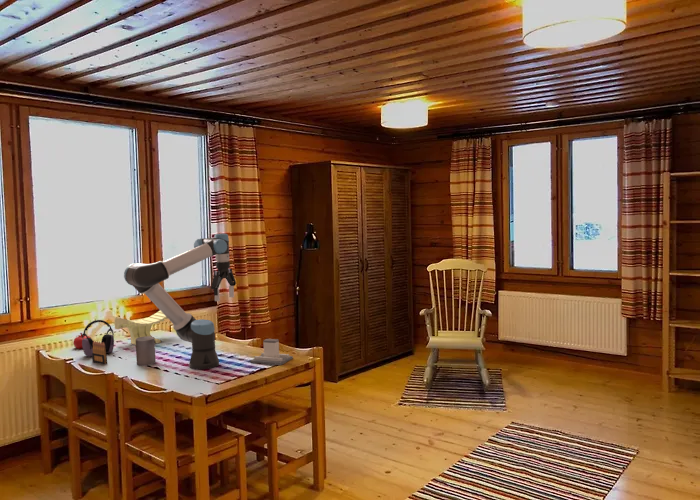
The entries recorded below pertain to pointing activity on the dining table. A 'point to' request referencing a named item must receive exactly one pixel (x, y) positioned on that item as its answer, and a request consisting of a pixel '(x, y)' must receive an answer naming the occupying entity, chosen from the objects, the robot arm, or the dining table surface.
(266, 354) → the grey rectangular block
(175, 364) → the dining table surface
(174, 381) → the dining table surface
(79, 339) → the pomegranate
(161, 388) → the dining table surface
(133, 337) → the slatted curved stool
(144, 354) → the pillar candle
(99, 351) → the ammunition clip
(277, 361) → the end holder
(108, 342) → the headphones
